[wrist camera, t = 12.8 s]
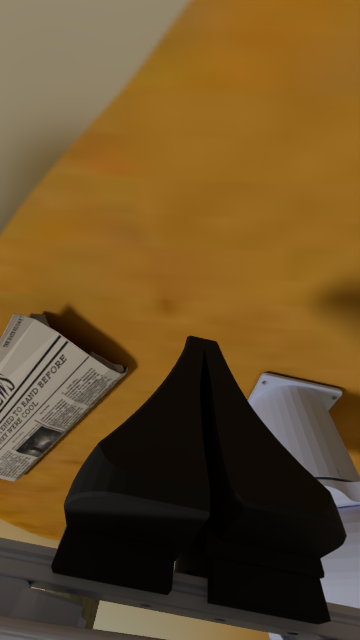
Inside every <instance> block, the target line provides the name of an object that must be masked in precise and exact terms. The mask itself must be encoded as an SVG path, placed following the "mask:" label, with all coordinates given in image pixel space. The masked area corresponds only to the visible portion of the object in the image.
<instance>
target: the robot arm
mask: <svg viewBox="0 0 360 640" xmlns="http://www.w3.org/2000/svg"><path fill="white" fill-rule="evenodd" d="M263 381H265V382H263ZM341 396H342V391H341V390H340V389H339V388H334V387H330V386H325V385H321V384H316V383H312V382H307V381H303V380H298V379H293V378H289V377H284V376H280V375H275V374H271V373H263V374H262V375H261V377H260V379H259V380H258V382H257V384H256V386H255V388H254V390H253V391H252V393H251V395H250V397H249V399H248V401H247V399H246V398H245V396H244V394H243V393H242V391H241V389H240V388H239V386H238V384H237V382H236V381H235V379H234V377H233V375H232V373H231V371H230V369H229V367H228V365H227V363H226V361H225V359H224V357H223V355H222V352H221V350H220V348H219V345H218V343H217V342H216V341H212V340H208V339H203V338H199V337H194V336H188V337H187V340H186V343H185V347H184V350H183V352H182V354H181V356H180V357H179V359H178V361H177V363H176V364H175V366H174V367H173V369H172V370H171V372H170V373H169V375H168V376H167V378H166V379H165V380H164V382H163V383H162V384H161V385H160V386H159V388H158V389H157V390H156V391H155V392H154V394H153V395H152V396H151V397H150V398H149V399H148V400H147V401H146V402H145V403H144V404H143V405H142V406H141V407H140V408H139V409H138V410H137V411H136V412H135V413H134V414H133V415H132V416H130V417H129V418H128V419H127V420H126V421H125V422H124V423H123V424H122V425H120V426H119V427H118V428H117V429H115V430H114V431H113V432H112V433H110V434H109V435H108V436H107V437H105V438H104V439H103V440H101V441H100V442H99V443H98V444H97V446H96V447H95V448H94V450H93V451H92V452H91V454H90V455H89V456H88V458H87V459H86V461H85V462H84V464H83V465H82V467H81V468H80V470H79V472H78V473H77V475H76V477H75V479H74V481H73V483H72V485H71V488H70V490H69V493H68V495H67V497H66V500H65V503H64V511H65V517H66V524H67V526H66V529H65V531H64V534H63V536H62V539H61V542H60V544H59V547H58V549H56V548H50V547H45V546H40V545H35V544H30V543H25V542H20V541H15V540H10V539H5V538H0V640H165V639H158V638H151V637H145V636H138V635H131V634H124V633H117V632H109V631H103V630H95V629H89V628H85V625H86V618H85V616H84V615H82V610H83V605H82V603H81V602H78V601H75V600H72V599H69V598H66V597H63V596H60V595H57V594H54V593H50V592H47V591H44V590H40V589H34V588H31V587H35V588H41V589H45V590H51V591H56V592H61V593H66V594H71V595H76V596H82V597H87V598H92V599H97V600H102V601H108V602H113V603H118V604H123V605H129V606H134V607H139V608H144V609H150V610H154V611H159V612H165V613H170V614H175V615H180V616H185V617H191V618H196V619H201V620H206V621H211V622H216V623H222V624H227V625H232V626H237V627H243V628H248V629H253V630H258V631H263V632H268V633H269V636H270V639H271V640H360V477H359V474H358V472H357V470H356V468H355V466H354V464H353V462H352V460H351V458H350V456H349V453H348V451H347V449H346V447H345V445H344V443H343V441H342V439H341V437H340V435H339V432H338V430H337V428H336V426H335V424H334V422H333V420H332V418H331V416H330V414H329V412H328V411H329V410H330V408H331V407H332V406H333V405H334V404H335V403H336V401H337V400H338V399H339V398H340V397H341ZM175 561H176V562H175ZM174 562H175V569H174ZM173 571H174V572H173Z"/></svg>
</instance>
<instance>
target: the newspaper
mask: <svg viewBox="0 0 360 640" xmlns="http://www.w3.org/2000/svg"><path fill="white" fill-rule="evenodd" d="M45 316H46V315H41V314H31V315H30V316H29V317H27V316H24V315H21V314H13V316H12V318H11V320H10V322H9V324H8V325H7V327H6V329H5V331H4V333H3V335H2V337H1V339H0V479H5V480H9V481H16V480H18V479H20V478H21V477H22V476H23V475H24V474H25V473H26V472H27V471H28V470H29V469H30V468H31V467H32V466H33V465H34V464H35V463H36V462H37V461H38V460H39V459H40V458H41V457H42V456H43V455H44V454H45V453H46V452H47V451H48V450H49V449H50V448H51V447H52V446H53V445H54V444H55V443H56V442H57V441H58V440H59V439H60V438H61V437H62V436H63V435H64V434H65V433H66V432H67V431H68V430H69V429H70V428H71V427H72V426H73V425H74V424H76V423H77V422H78V421H79V420H80V419H81V418H82V417H83V416H84V415H85V414H86V413H87V412H88V411H89V410H90V409H91V408H92V407H93V406H94V405H95V404H96V403H97V402H98V401H99V400H100V399H101V398H102V397H103V396H104V395H105V394H106V393H107V392H108V391H109V390H110V389H111V388H112V387H113V386H114V385H115V384H116V383H117V382H118V381H119V380H120V379H121V378H122V377H123V376H124V375H125V374H126V373H127V371H128V367H127V368H126V369H125V370H124V369H123V366H122V365H116V364H112V363H111V362H109V361H107V360H106V359H104V358H102V357H100V356H99V355H97V354H95V353H94V352H91V353H90V354H89V355H88V354H87V353H85V352H84V351H83V350H81V349H80V348H79V347H77V346H76V345H75V344H73V343H72V342H71V341H69V340H68V339H66V338H65V337H64V336H62V335H61V334H60V333H58V332H57V331H55V330H53V329H52V328H50V327H49V324H48V322H47V318H45Z"/></svg>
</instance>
